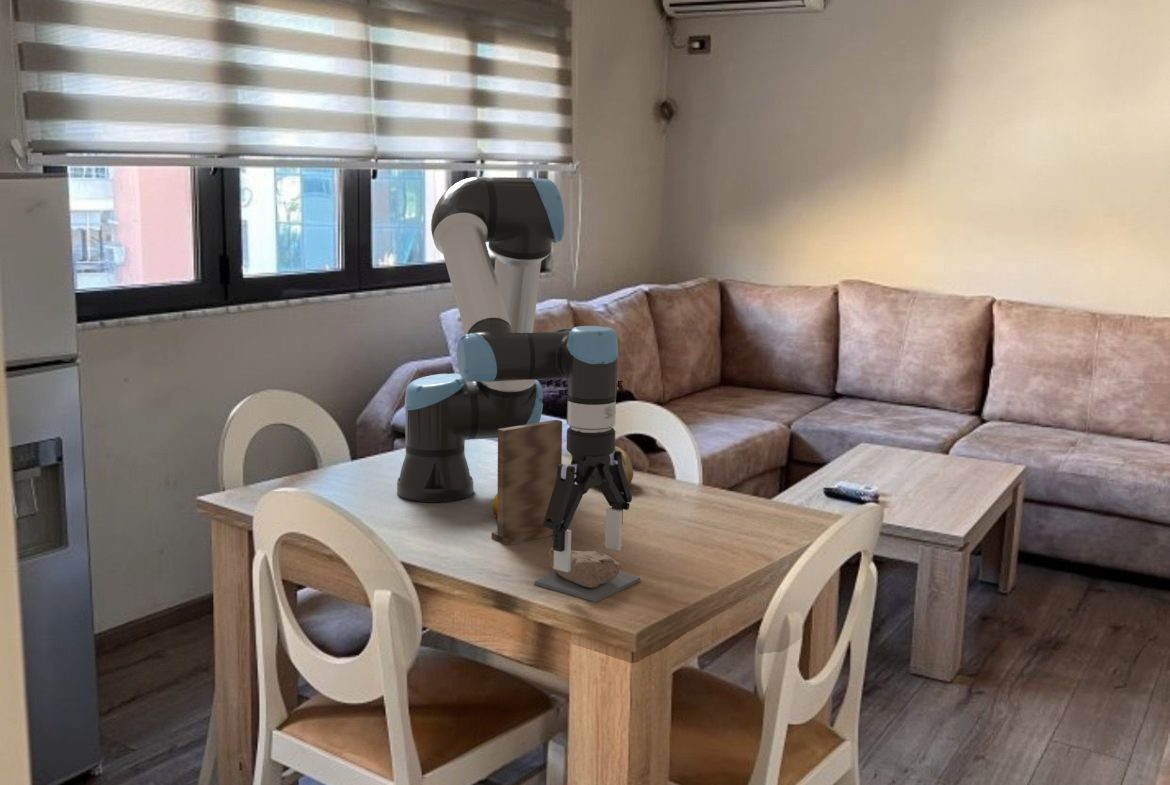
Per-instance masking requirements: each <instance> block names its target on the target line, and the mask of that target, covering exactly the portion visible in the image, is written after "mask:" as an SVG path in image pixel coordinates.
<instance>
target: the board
mask: <svg viewBox="0 0 1170 785" xmlns="http://www.w3.org/2000/svg"><path fill="white" fill-rule="evenodd" d="M562 451H563V421H562V420H559V419H553V420H552V419H551V420H546V421H541V422H539V423H533V424H526V425H520V426H514V427H508V428H501V429H498V438H497V493H498V494H497V493H496V494H497V522H496V524H497V526H496V530H495V531H493V532H491V539H493V540H496V541H498V542H500V543H502V544H505V545H506V546H511V545H515V544H520V543H524V542H529V541H532V540H536V539H541V538H545V537H548V536H553V530H552V529H550V528H546V527H544V526H543V522H544V519H545V516H546V512H547V509H548V506H549V502H550V499H551V496H552V493H553V489H554V486H555V483H556V479H557V469H558V465H559V464H563V463H562V461H563V460H562V456H563V455H562ZM551 521H552V520H551Z"/></svg>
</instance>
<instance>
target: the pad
mask: <svg viewBox="0 0 1170 785" xmlns="http://www.w3.org/2000/svg"><path fill="white" fill-rule="evenodd" d="M641 578H642V577H641V576H636V575H633V574H630V573H626V572H621V571H619V573H618V575H617V576H616V577H615V578H614V579H612V580H611V581H609V582H608V583H604V584H599V586H597V587H594V588H590V587H585V586H582V585H579V584H576V583H574V582H572V581H570V580H567V579H565V578H563V577H562V576H561V575H559V574H558V572H556V571H554V572H552V573H550V574H547V575H544V576H542V577H540V578H538V579H536V580H534V583H533V584H534V586H539V587H542V588H546V589H549V590H553V591H556V592H559V593H563V594H566V595H571V596H573V597H577V598H580V599H585V600H587V601H591V602H594V603H598V602H600V601H602V600H604V599H606V598H607V597H610V596H612V595H615V594H616V593H618V592H620V591H622V590H625V589H626V588H629V587H631V586H633V585H635V584H637V583H639V582H641Z"/></svg>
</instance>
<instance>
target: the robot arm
mask: <svg viewBox="0 0 1170 785" xmlns="http://www.w3.org/2000/svg"><path fill="white" fill-rule="evenodd" d="M564 211H565V210H564V204H563V200H562V196H561V192H560V190H559V189H558V186H557V185H556V184H555V182H553V180H551V179H548V178H539V177H538V178H537V177H533V176H528V177H505V176H504V177H503V176H502V177H501V176H500V177H499V176H497V177H496V176H495V177H494V176H493V177H492V176H490V177H489V176H488V177H487V176H486V177H485V176H471V177H468V178H465V179H464V178H463V179H462V180H460V181H458V182H456V183H454V184H453V185H452V186H450V187H448V189H446V191H445V192H444V193H443V194H442V195H441V196H440V198H439V199H438V201H437V203H436V205H435V206H434V209H433V213H432V216H431V221H430V222H431V224H430V231H431V236H432V239H433V243H434V245H435V248H436V249H437V251H439V252H440V253H441V254H442V255H443V257H444V262H445V266H446V269H447V273H448V277H449V279H450V284H451V288H452V290H453V294H454V297H455V302H456V306H457V309H458V312H459V317H460V321H461V323H462V327H463V331H464V334H463V335H461V336H460V337H459V339H458V341H457V347H456V348H457V349H456V359H457V360H456V361H457V367H458V373H437V374H431V375H428V376H427V375H425V376H422V377H419V378H417V379H414V380H413V381H411V382H410V383H409V384H407V387H406V388H405V396H404V397H405V398H404V406H403V408H404V410H405V411H404V413H405V418H404V419H405V420H404V422H405V455H404V460H403V462H402V466H401V468H400V475H399V477H398V478H397V482H396V494H397V495H398V496H399V497H401V498H402V499H405V500H409V501H414V502H425V503H444V502H446V503H447V502H453V501H459V500H462V499H465V498H466V499H467V498H468V497H469V496H472V495H473V494H474V480H473V477H472V475H471V474H470V468H469V464H468V462H467V461H468V460H467V458H466V453H465V452H466V451H465V449H466V448H465V443H466V441H469V440H486V439H487V440H488V439H498V429H501V428H508V427H514V426H520V425H526V424H533V423H539V422H540V421H541V418H542V414H543V407H544V403H543V398H544V395H543V387H542V385H541V383H540V382H539V380H562V379H563V380H567V399H566V401H567V403H566V405H567V406H566V424H567V425H568V426H569V427H568V428H567V429H566V451H567V453H569V454H570V455H571V461H570V464H563V463H562V464H559V465H558V469H557V479H556V483H555V486H554V489H553V493H552V496H551V499H550V502H549V506H548V509H547V512H546V516H545V519H544V522H543V526H544V527H546V528H550V529H552V530H553V535H552V548H553V550H554V569H557V570H561V571H564V572H570V570H571V550H572V529H569V527H570V525H571V522H572V520H573V518H574V516H575V514H576V511H577V509H578V507H579V504H580V502H581V501H582V499H583V495H585V494H587V493H588V492H589V489H592V488H593V487H595V486H597V487H598V489H599V490H600V491H601V493H602V495H603V497H604V498H605V500H606V501H607V503H608V505H609V507H607V508H605V527H604V528H605V535H604V536H605V537H604V547H605V548H608V549H612V550H616V551H620V550H622V539H623V538H622V537H623V536H622V533H623V523H624V522H623V521H624V520H623V518H624V511H628V510H629V509H630V503H632V500H633V496H632V493H631V489H630V485H628V482H627V479H626V475H625V472H624V468H623V465H622V453H621V451H616V450H615V446H616V430H615V429H614V427H615V425H616V411H617V410H616V408H617V406H616V405H617V402H616V401H617V386H618V385H617V384H618V383H617V382H618V357H619V354H620V353H619V348H618V347H619V346H618V345H619V344H618V342H619V341H618V334H617V333H618V332H616V330H615V329H614V328H611V327H610V326H607V327H605V326H603V325H602V326H600V325H580V326H575V327H573V328H567V327H564V328H558V329H555V330H554V331H546V332H544V331H543V332H542V331H541V332H540V331H538V332H534V326H535V318H536V310H537V302H538V301H537V300H538V293H539V292H538V291H539V285H540V283H539V282H540V274H541V267H542V266H541V265H542V261H543V260H545V259H546V258H548V257H549V256H550V254H551V249H552V244H553V243H554V244H557V243H560V242H561V241H562V240H563V237H564V234H565V212H564ZM487 243H488V247H487ZM488 249H489V250H490V251H491V253H492V254H493V255H494V256H495V259H494V260H495V261H494V266H493V263H492V260H491V256H490V254H489V251H488ZM551 520H552V521H551Z"/></svg>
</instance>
